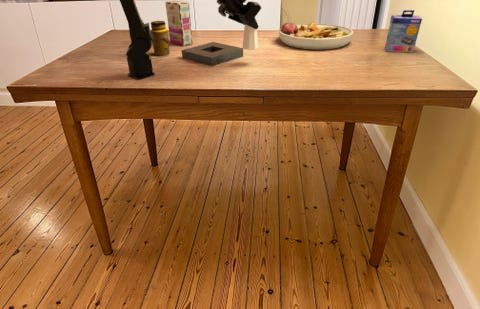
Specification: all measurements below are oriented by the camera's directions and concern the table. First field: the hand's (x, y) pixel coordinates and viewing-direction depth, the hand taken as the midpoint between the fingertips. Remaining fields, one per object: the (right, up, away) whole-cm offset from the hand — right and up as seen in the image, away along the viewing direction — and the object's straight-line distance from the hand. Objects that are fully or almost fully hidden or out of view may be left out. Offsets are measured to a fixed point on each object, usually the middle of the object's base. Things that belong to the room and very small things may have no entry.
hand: (254, 27), depth 111 cm
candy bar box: (-30, +6, +33) cm, 45 cm away
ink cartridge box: (+56, -3, +16) cm, 58 cm away
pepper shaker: (-1, -6, +3) cm, 7 cm away
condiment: (-36, -4, +18) cm, 40 cm away
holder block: (-15, -6, +13) cm, 21 cm away
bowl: (+27, +5, +30) cm, 41 cm away
